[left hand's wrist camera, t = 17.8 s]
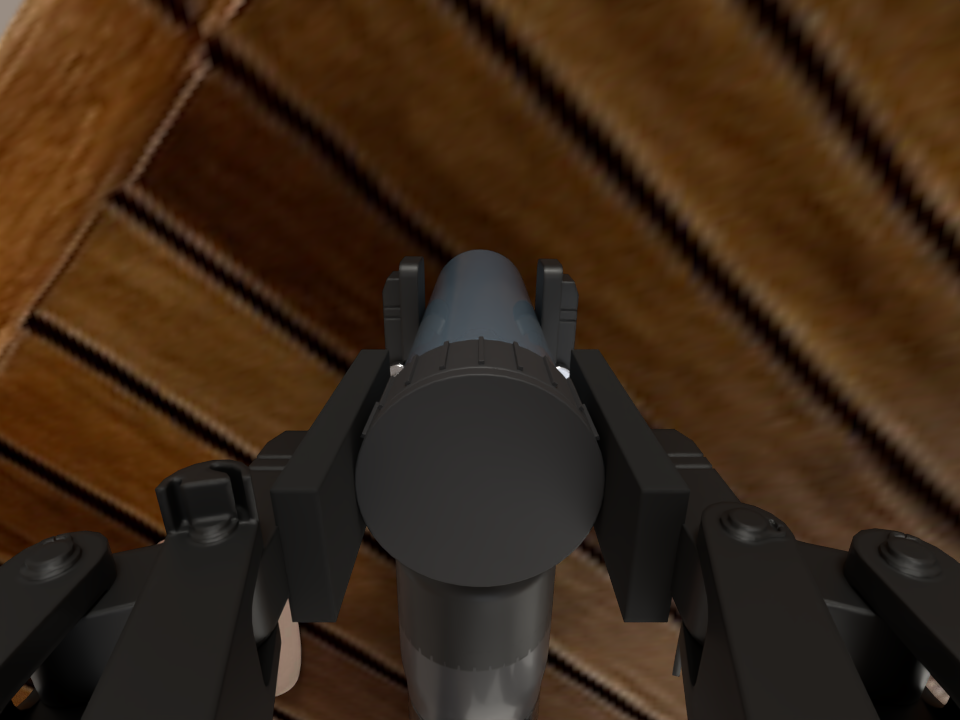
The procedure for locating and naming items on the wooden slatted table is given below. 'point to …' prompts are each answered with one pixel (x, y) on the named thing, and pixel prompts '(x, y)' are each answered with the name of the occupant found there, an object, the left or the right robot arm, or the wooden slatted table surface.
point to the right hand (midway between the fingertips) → (480, 262)
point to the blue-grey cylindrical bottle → (479, 306)
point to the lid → (479, 465)
